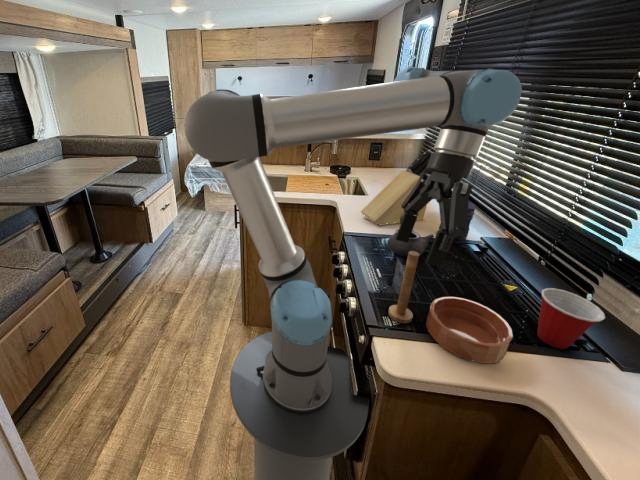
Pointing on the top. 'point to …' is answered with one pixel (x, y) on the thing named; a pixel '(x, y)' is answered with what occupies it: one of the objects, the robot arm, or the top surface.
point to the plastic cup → (565, 317)
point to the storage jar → (470, 215)
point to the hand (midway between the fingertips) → (415, 251)
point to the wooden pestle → (405, 291)
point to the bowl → (469, 329)
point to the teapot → (413, 243)
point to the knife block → (397, 194)
